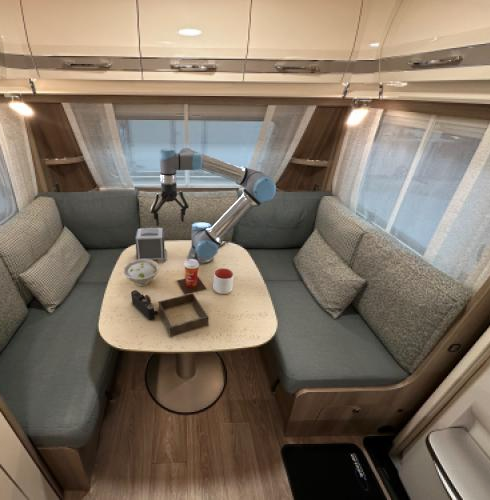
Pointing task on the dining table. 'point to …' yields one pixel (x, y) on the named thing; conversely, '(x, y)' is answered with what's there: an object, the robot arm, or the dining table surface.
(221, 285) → the cup
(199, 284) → the coaster mat
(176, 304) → the wooden tray
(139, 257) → the grey speaker box
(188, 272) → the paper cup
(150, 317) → the camera
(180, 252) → the dining table surface
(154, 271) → the bowl
